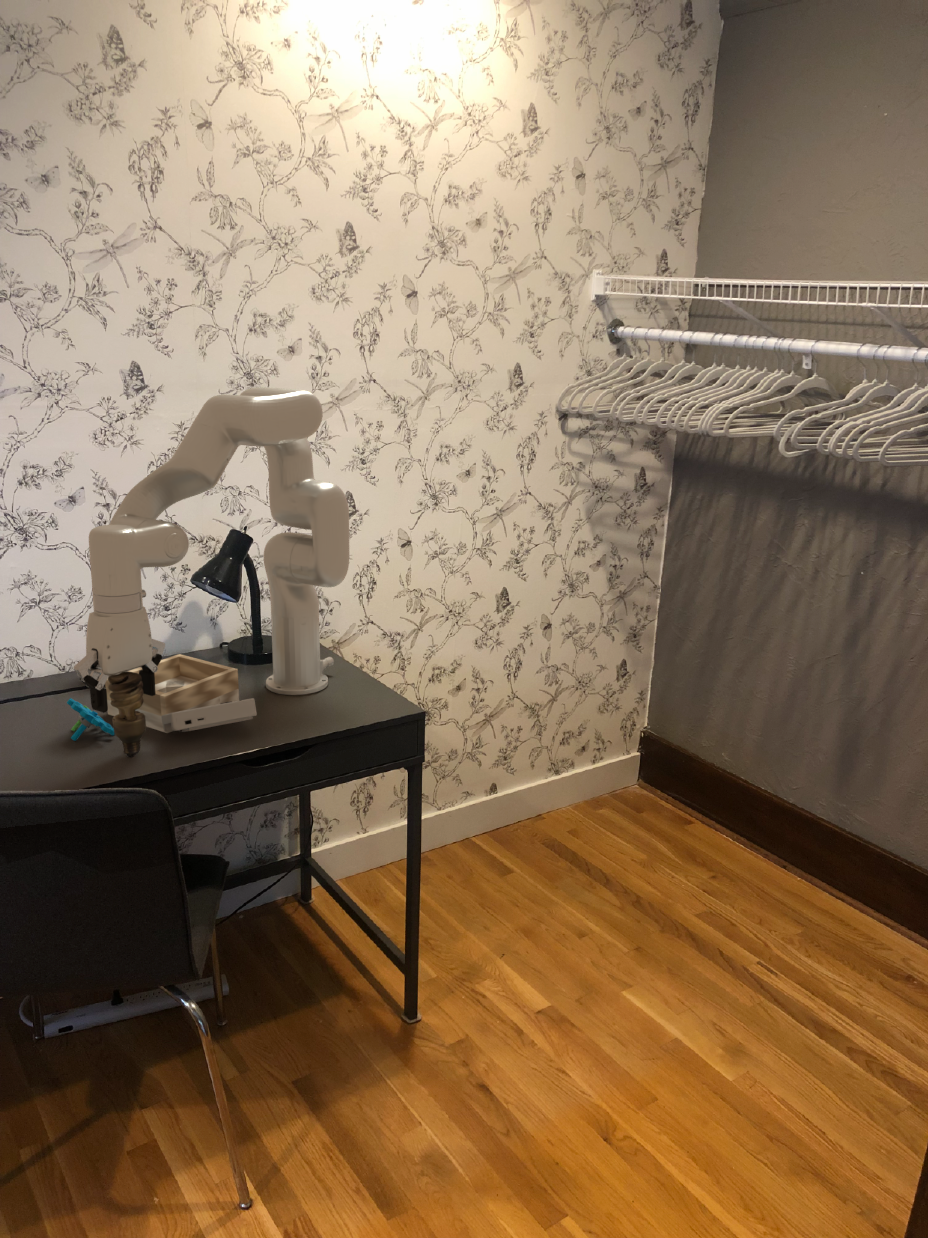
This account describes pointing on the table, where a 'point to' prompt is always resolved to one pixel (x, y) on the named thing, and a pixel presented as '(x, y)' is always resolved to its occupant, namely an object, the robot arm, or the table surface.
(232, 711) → the handheld gaming device
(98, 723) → the gear
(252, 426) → the robot arm
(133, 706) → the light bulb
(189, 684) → the bore box
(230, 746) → the table surface
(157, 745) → the table surface
